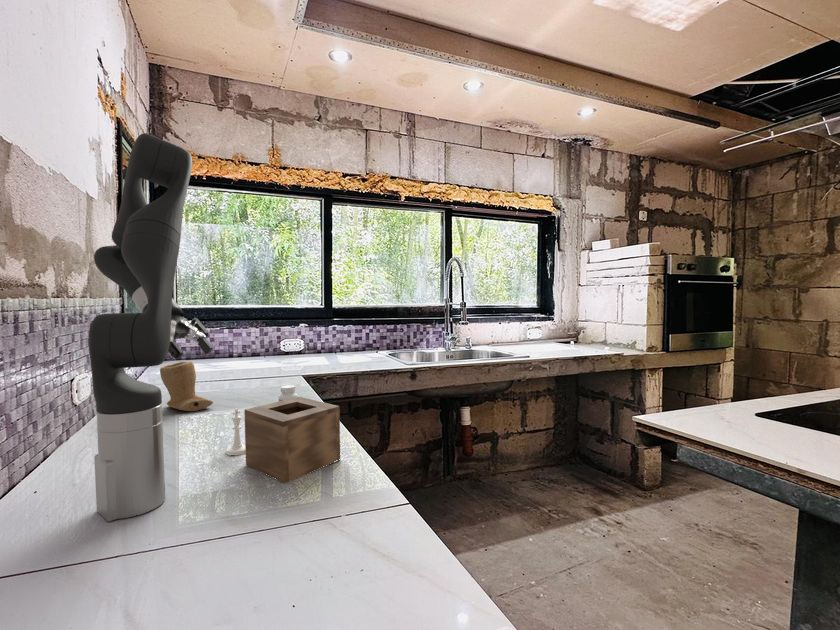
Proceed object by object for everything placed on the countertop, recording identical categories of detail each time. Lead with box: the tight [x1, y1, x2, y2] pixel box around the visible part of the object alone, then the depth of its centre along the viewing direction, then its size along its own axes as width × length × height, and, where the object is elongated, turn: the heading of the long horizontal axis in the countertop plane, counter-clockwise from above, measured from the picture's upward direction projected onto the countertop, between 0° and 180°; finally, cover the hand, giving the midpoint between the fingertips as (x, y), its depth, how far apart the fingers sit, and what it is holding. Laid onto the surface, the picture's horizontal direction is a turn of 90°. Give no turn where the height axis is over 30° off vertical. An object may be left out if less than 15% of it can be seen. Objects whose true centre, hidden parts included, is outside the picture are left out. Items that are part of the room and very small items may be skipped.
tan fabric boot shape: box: [159, 360, 214, 412], centre depth 135 cm, size 15×12×15 cm
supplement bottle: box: [278, 384, 299, 402], centre depth 123 cm, size 5×5×10 cm
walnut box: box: [243, 396, 341, 484], centre depth 91 cm, size 14×14×12 cm
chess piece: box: [225, 408, 246, 456], centre depth 98 cm, size 5×5×10 cm
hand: (195, 354), depth 101 cm, fingers open, 8 cm apart
